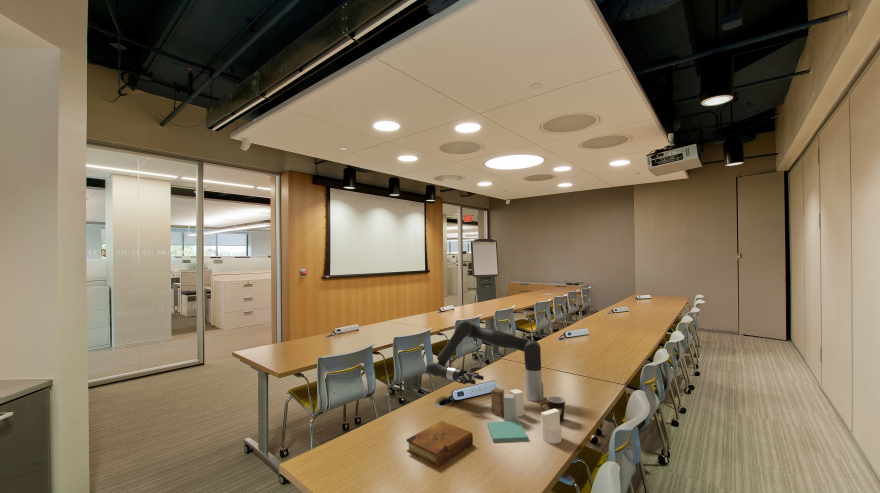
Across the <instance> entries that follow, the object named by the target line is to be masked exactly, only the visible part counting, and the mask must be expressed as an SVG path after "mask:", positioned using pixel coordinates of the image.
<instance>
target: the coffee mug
mask: <svg viewBox="0 0 880 493" xmlns="http://www.w3.org/2000/svg"><path fill="white" fill-rule="evenodd" d="M544 404H546V405H547V406H548V410H551V409H554V408H555V409H557V410H559V414H560V423H562V422H564V418H565V408H566V407H565V406H566V398H564V397H561V396H556V395H555V396H547V402H546V401H543V402H542V403H541V404H540V408H541V409H542V411H543V412H544V411H546V410H545V409H544V408H543V405H544Z"/></svg>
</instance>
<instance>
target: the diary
mask: <svg viewBox="0 0 880 493" xmlns="http://www.w3.org/2000/svg"><path fill="white" fill-rule="evenodd" d="M473 439H474V436H473V433H472V432H471V431H469V430H467V429H464V428H461V427H459V426H456V425H453V424H451V423H449V422H446V421H444V420H441V421H439V422H437V423H434V424H433V425H431V426H429V427H427V428H425V429H424V430H421V431H420V432H418V433H416V434H414V435H412V436H410V437H408V438H406V442H407V443H408V449H406V452H407V451H408V453H409V452H410V453H409V454H411V455H413V456H415V457H416V458H419V459H420V458H421V459H420V460H422V459H423V460H422V461H424V460H425V462H426V461H427V462H426V463H428V464H430V465H431V466H433V467H436V468H438V467H440V466H441V465H443V464H445V463H446V462H448V461H449V460H450V459H452V458H453V457H455V456H456V454H457V455H458V454H460V453H461V452H463V451H464V450H466V449H468V448H469V447H471V446H472V445H473V444H474V440H473ZM465 448H466V449H465ZM459 452H460V453H459Z"/></svg>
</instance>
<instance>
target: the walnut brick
mask: <svg viewBox="0 0 880 493" xmlns="http://www.w3.org/2000/svg"><path fill="white" fill-rule="evenodd" d="M504 395H505V390H504V388H498V387H495V388H493V389H491V391H490V397H491V414H494V415H497V416H502V415H504Z"/></svg>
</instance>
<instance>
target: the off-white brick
mask: <svg viewBox="0 0 880 493" xmlns="http://www.w3.org/2000/svg"><path fill="white" fill-rule="evenodd" d="M509 394H512V395H515V418H518V417H522V416H524V414H525V412H524V409H525V407H524V392H523V391H522V390H520V389H518V388H514V389H511V390H509Z"/></svg>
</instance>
